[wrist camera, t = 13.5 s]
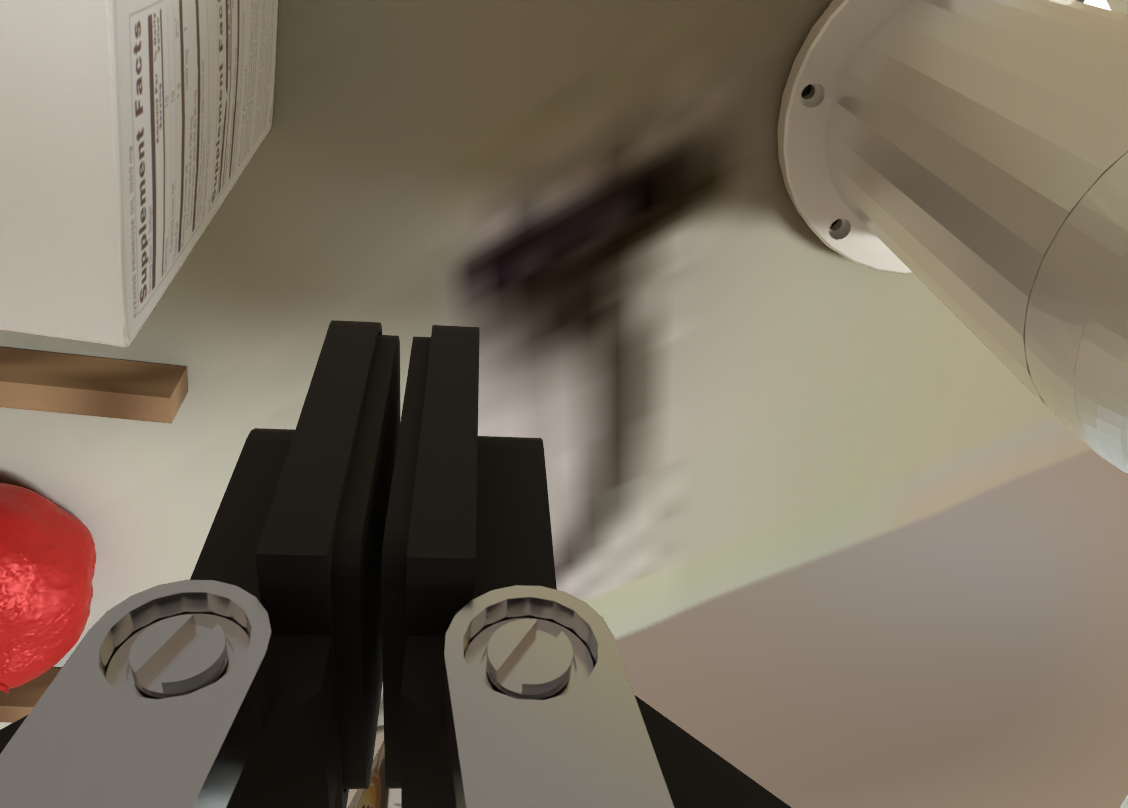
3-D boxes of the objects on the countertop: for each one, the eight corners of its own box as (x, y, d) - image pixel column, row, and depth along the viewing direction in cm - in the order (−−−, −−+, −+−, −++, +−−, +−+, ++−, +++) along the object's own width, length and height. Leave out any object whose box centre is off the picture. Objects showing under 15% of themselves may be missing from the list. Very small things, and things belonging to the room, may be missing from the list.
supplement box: (-5, 85, 31) (-399, 292, 17) (-39, -231, 27) (-620, -304, 13) (280, 137, 33) (134, 363, 19) (293, -152, 28) (114, -139, 14)
